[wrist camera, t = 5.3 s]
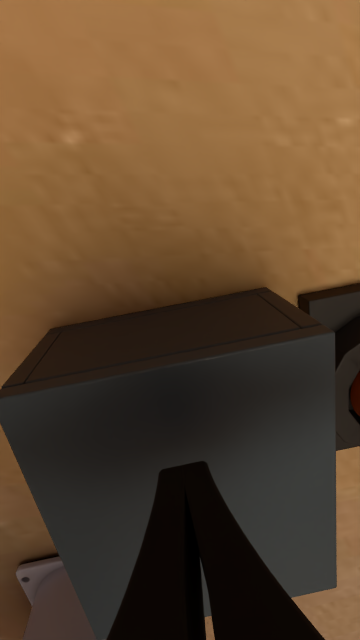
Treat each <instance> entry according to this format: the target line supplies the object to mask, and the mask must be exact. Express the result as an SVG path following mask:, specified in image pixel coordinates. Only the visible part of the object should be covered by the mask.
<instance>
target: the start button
mask: <svg viewBox="0 0 360 640" xmlns="http://www.w3.org/2000/svg"><path fill="white" fill-rule="evenodd" d="M350 398H351V404H352V407H353V409H354V411H355V412H356V413H357V414H358V415H359V416H360V371H359V372H358V374H357V376H356V377H355V379H354V381H353V384H352V387H351V393H350Z"/></svg>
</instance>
